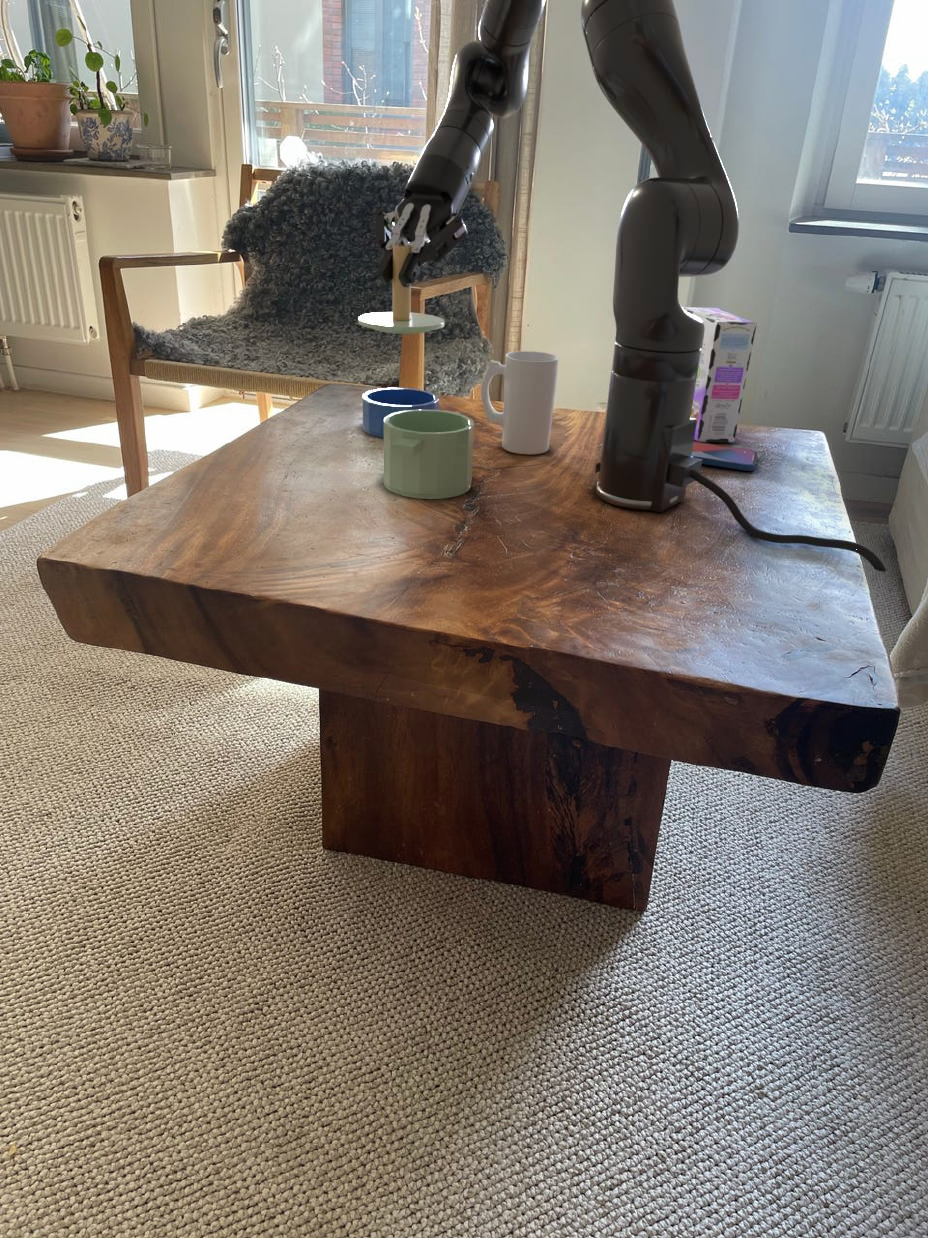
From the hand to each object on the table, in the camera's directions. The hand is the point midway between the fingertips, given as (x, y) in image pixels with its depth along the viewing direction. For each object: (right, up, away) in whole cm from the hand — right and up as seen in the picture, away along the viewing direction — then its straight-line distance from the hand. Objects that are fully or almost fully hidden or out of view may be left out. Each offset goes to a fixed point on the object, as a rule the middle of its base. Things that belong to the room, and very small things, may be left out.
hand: (393, 280), depth 114 cm
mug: (+16, -20, +6) cm, 26 cm away
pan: (0, -17, +11) cm, 20 cm away
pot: (+5, -27, -10) cm, 29 cm away
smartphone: (+40, -22, +5) cm, 46 cm away
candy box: (+43, -16, +17) cm, 49 cm away
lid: (+1, -4, +4) cm, 6 cm away
